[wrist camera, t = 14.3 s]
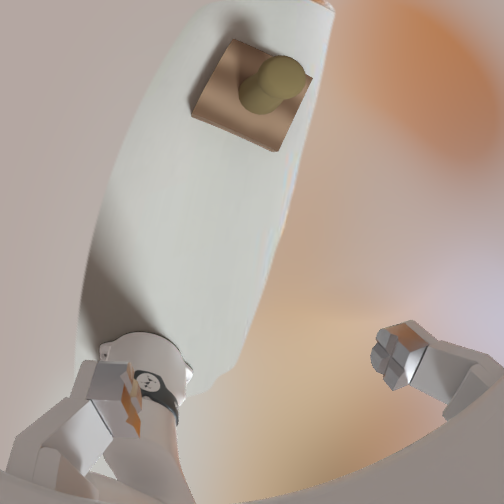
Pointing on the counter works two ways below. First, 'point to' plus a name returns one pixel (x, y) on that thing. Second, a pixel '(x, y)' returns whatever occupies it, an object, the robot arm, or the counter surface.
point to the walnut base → (230, 108)
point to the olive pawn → (272, 85)
